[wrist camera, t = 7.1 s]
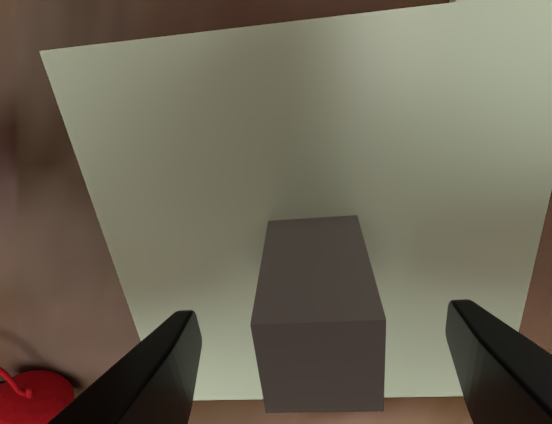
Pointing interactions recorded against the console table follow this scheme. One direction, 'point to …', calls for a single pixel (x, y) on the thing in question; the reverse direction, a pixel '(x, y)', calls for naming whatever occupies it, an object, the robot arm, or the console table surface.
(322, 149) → the cover sheet
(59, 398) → the alarm clock
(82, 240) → the console table surface
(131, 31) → the console table surface
